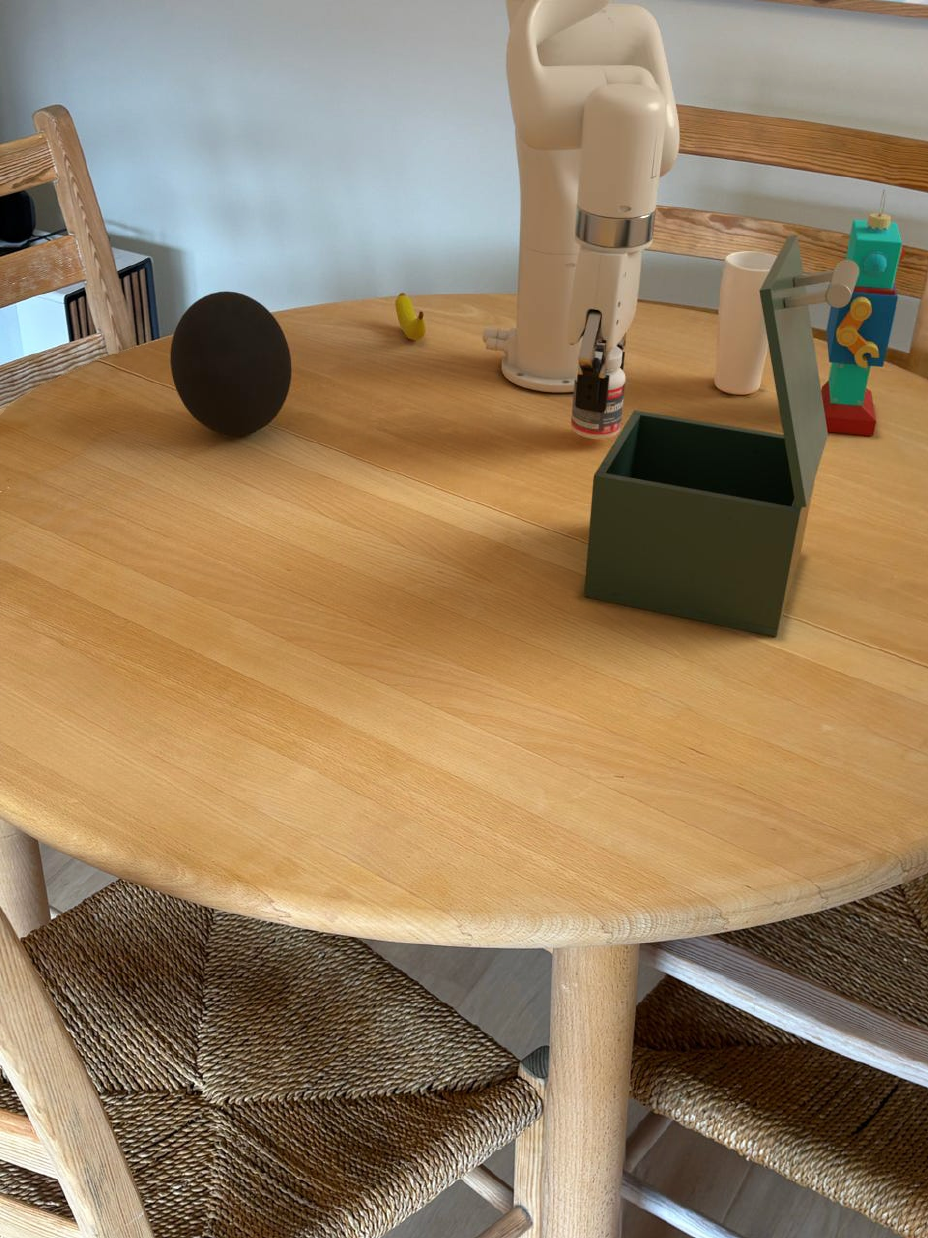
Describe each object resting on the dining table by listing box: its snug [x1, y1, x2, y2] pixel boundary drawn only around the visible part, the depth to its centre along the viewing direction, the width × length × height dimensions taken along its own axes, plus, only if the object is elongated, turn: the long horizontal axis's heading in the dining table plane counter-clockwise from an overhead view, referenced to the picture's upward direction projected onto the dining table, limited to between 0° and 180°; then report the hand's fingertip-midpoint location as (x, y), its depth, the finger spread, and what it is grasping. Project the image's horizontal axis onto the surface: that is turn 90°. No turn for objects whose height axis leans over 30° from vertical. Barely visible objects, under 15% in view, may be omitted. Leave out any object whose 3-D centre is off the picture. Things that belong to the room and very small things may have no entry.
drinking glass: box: [713, 250, 778, 396], centre depth 141 cm, size 7×7×15 cm
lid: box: [759, 234, 859, 508], centre depth 97 cm, size 17×14×6 cm
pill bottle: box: [570, 342, 627, 440], centre depth 130 cm, size 5×5×9 cm
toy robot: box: [821, 188, 906, 437], centre depth 132 cm, size 12×6×25 cm, turn 168°
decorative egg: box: [169, 290, 293, 437], centre depth 130 cm, size 12×12×15 cm
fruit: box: [394, 292, 427, 341], centre depth 155 cm, size 10×2×5 cm, turn 17°
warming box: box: [583, 409, 816, 638], centre depth 107 cm, size 17×14×12 cm
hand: (598, 395), depth 130 cm, fingers closed on pill bottle, 5 cm apart
